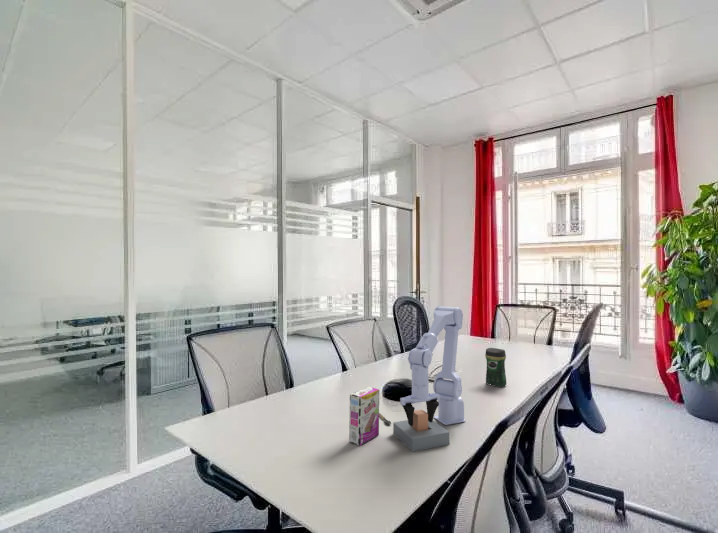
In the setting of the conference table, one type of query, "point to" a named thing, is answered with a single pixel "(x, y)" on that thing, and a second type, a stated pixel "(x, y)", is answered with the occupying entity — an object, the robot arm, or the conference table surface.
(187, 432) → the conference table surface
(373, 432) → the candy bar box
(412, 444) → the socket block
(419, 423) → the peg
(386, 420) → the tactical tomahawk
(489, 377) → the coffee jar
